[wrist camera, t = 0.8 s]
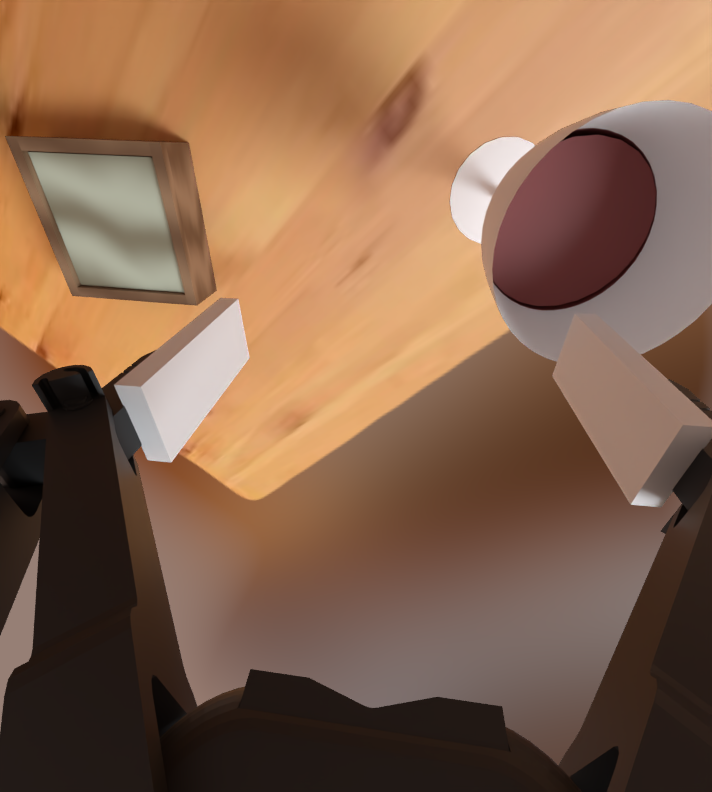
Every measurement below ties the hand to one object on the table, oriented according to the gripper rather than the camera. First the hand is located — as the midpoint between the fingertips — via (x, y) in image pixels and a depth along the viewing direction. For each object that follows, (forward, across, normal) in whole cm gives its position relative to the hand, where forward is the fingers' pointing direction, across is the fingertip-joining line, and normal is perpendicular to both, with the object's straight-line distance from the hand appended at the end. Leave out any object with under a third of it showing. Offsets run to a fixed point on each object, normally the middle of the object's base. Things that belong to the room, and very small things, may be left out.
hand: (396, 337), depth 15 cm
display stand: (+26, -28, 0) cm, 38 cm away
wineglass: (+26, +8, +3) cm, 27 cm away
